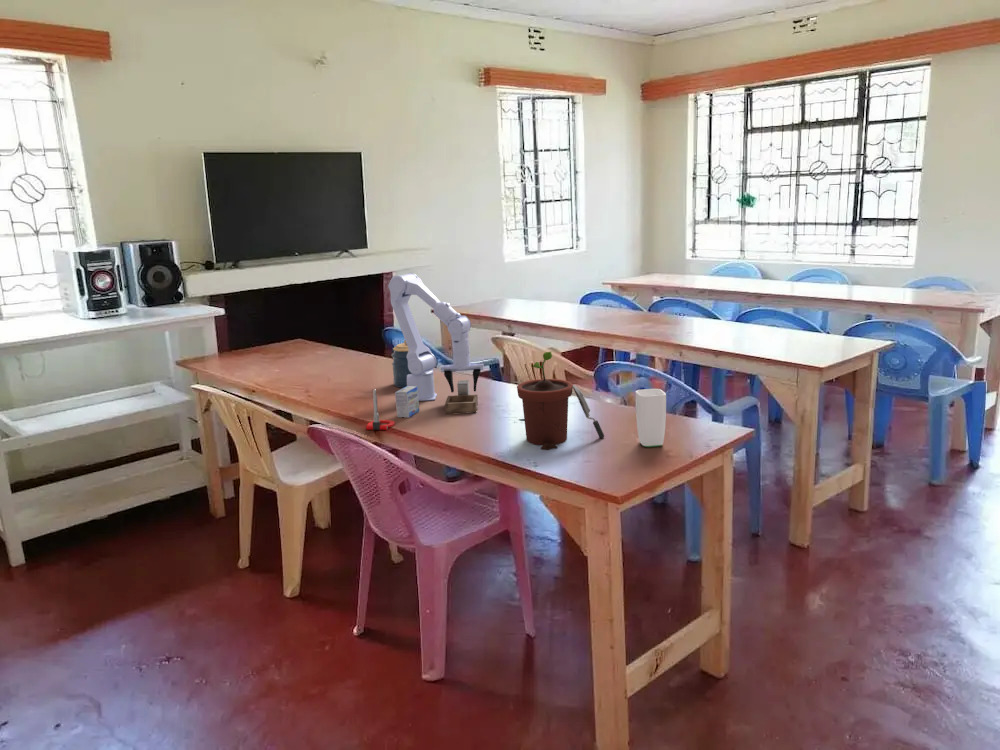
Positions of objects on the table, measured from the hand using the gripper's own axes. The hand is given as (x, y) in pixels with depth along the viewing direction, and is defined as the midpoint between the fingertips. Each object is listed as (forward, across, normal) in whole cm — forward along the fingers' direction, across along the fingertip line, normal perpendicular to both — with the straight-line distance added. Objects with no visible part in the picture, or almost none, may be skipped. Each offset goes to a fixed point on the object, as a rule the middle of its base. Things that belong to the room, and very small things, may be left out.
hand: (463, 391), depth 268 cm
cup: (+4, +55, -53) cm, 77 cm away
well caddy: (+4, 0, -10) cm, 10 cm away
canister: (+4, -23, +29) cm, 37 cm away
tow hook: (+4, -25, -25) cm, 35 cm away
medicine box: (+4, -18, -13) cm, 22 cm away
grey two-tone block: (+4, 0, 0) cm, 4 cm away
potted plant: (+4, +30, -46) cm, 55 cm away
